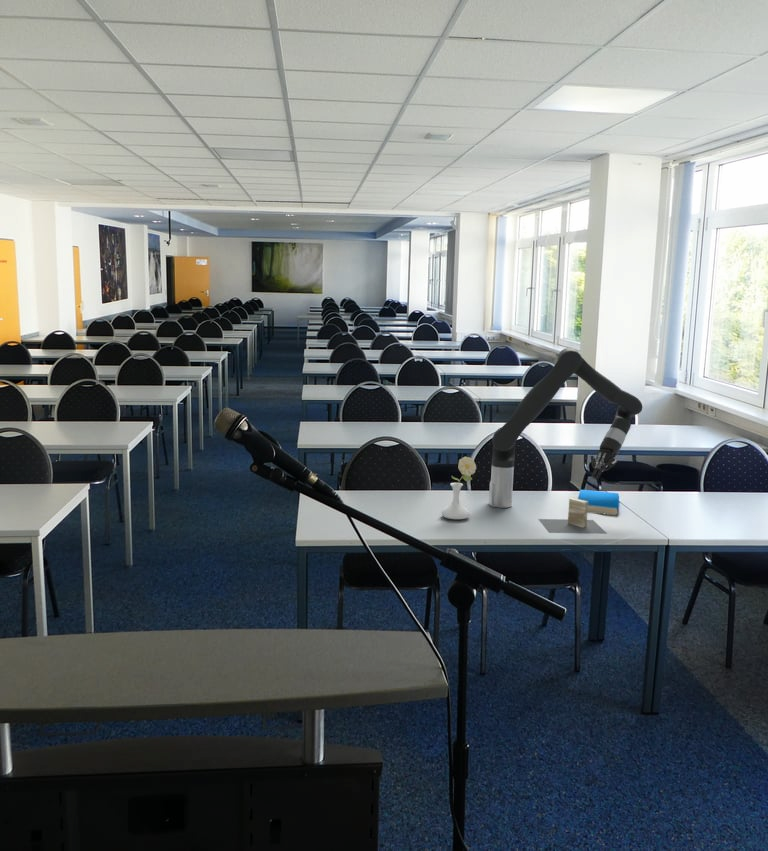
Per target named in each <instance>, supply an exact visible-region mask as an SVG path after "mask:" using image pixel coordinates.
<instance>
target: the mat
mask: <svg viewBox="0 0 768 851" xmlns="http://www.w3.org/2000/svg"><path fill="white" fill-rule="evenodd" d="M538 521H539V522H540V523H541V524H542V526H543V527H544V528H545V530H546V531H547V532H548V533H550V534H600V535H601V534H605V535H606V534H608V532H606V531H605V530H604V529H603V528H602V527H601V525H599V524H598V523H597V522H596V521H595V520H594V519H587V527H584V528H582V527H579V526H575V525H572V524H568V518H565V519H563V518H562V519H561V518H560V519H559V518H558V519H557V518H538Z"/></svg>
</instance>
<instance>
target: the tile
mask: <svg viewBox="0 0 768 851" xmlns="http://www.w3.org/2000/svg"><path fill="white" fill-rule="evenodd" d="M568 499H569V500H568V516H567V519H568V524H572V525H575V526H579V527H582V528H584V527H587V520H588V513H589V512H588V501H584V500H580V499H578V498H577V497H570V498H568Z"/></svg>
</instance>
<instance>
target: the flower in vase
mask: <svg viewBox="0 0 768 851" xmlns="http://www.w3.org/2000/svg"><path fill="white" fill-rule="evenodd" d="M457 464H458V467H457V468H458V470H459V472H460V473H461V477H460V479H459V478H457V477H455V476H453V475H451V479H453V480H455V481H457V482H451V483H450V486H451V488H452V491H453V492H452V494H453V498H452V502H451V503H449V504H448V505H447V506H446V507H444V508H443V509H442V510H441V512H440V513H441V516H442V517H444V518H446V519H449V520H465V519H468V518H469V517H470V515H471V513H470V511H469V510H468V509H467V508H466V507H465V506H463V504H461V503H460V492H461V489H462V487H463V486H464V484H463V483H461V480H462V479H463V480H464V481H465V482H469V481H472V480H473V478H472V477H471V476H472V475H474V474H475V473H476V470H477V464H476V463H475V461H474V459H473V458H471V457H470V456H468V457H467V456H464V457H461V458H460V459H459V460H458V463H457Z"/></svg>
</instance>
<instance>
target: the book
mask: <svg viewBox="0 0 768 851" xmlns="http://www.w3.org/2000/svg"><path fill="white" fill-rule="evenodd" d="M577 499H580V500H584V501H588V513H590V512H594V513H593V514H599V513H605V514H604V515H609V514H614V515H613V516H618V514H619V510H620V508H619V507H620V495H619V492H618V493H617V492H609V491H601V490H600V491H599V490H588V489H579V493H578V496H577Z"/></svg>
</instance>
